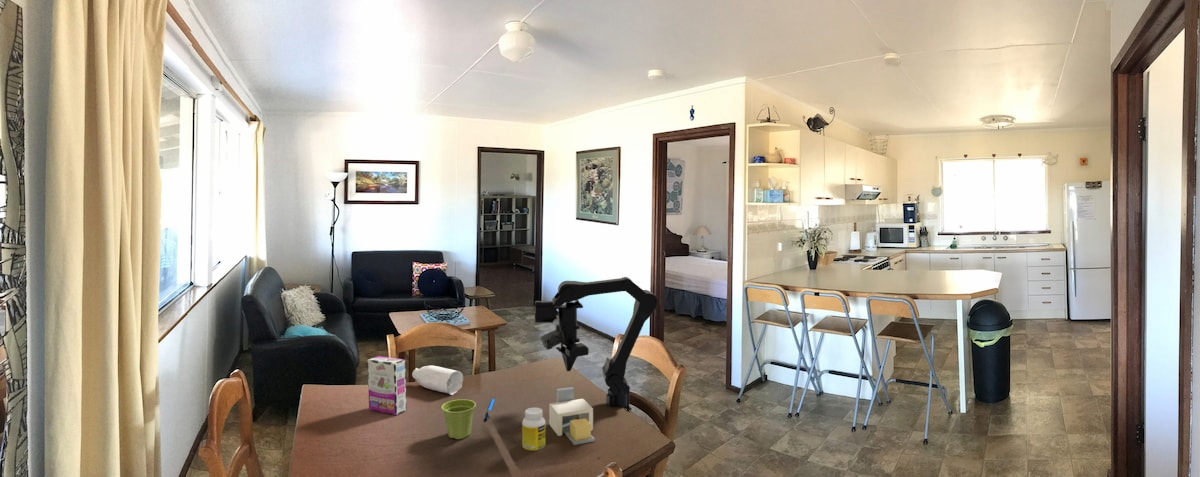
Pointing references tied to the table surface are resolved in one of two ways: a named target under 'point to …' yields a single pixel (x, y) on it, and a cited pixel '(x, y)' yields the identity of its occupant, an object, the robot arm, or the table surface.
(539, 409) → the pill bottle
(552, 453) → the table surface
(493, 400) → the pen
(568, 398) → the bracket
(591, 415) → the tunnel
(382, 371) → the candy bar box
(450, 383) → the white plastic bottle
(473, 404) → the plant pot
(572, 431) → the block
